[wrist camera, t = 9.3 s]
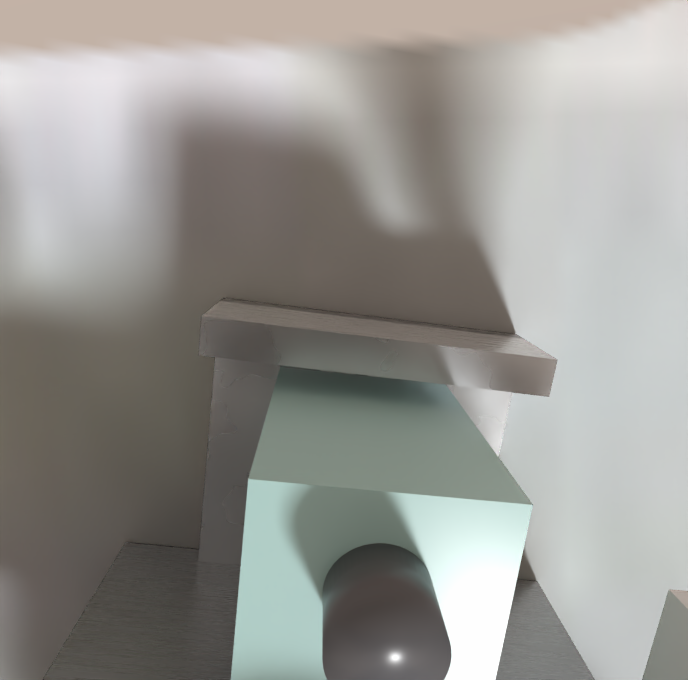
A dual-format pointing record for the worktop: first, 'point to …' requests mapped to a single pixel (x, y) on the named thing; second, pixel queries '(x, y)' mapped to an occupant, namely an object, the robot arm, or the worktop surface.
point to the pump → (375, 536)
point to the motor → (232, 481)
